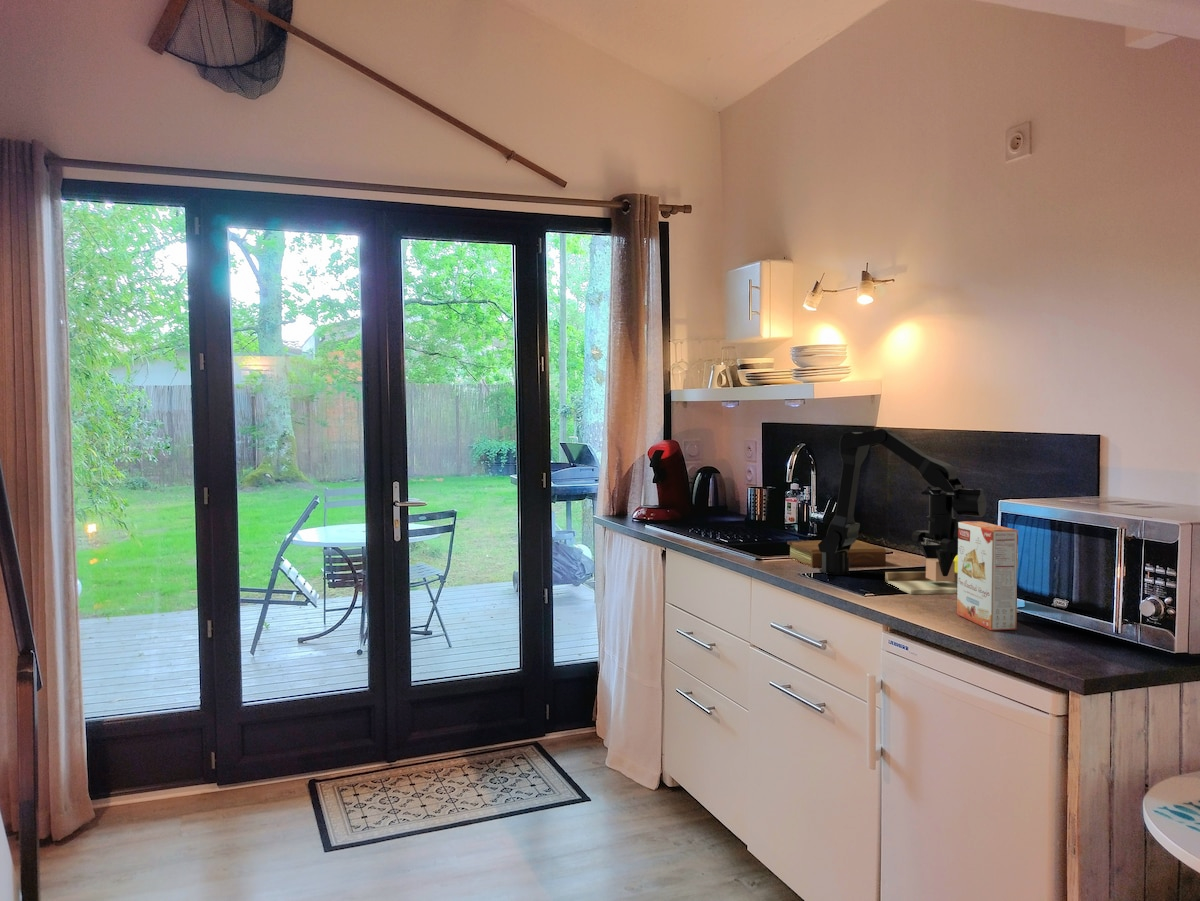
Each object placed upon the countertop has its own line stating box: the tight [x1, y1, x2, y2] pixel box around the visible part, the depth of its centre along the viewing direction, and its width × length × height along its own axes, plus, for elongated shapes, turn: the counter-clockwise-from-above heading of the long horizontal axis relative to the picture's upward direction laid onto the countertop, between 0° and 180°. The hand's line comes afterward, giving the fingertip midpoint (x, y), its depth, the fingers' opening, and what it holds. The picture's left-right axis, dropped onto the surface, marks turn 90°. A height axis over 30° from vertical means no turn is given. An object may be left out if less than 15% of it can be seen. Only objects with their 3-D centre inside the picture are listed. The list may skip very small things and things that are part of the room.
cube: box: [925, 558, 955, 581], centre depth 216 cm, size 5×5×5 cm
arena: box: [884, 570, 958, 595], centre depth 217 cm, size 18×14×3 cm
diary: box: [786, 539, 887, 568], centre depth 257 cm, size 23×19×6 cm
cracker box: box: [956, 520, 1019, 632], centre depth 179 cm, size 14×6×21 cm, turn 5°
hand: (939, 574), depth 216 cm, fingers closed on cube, 5 cm apart
